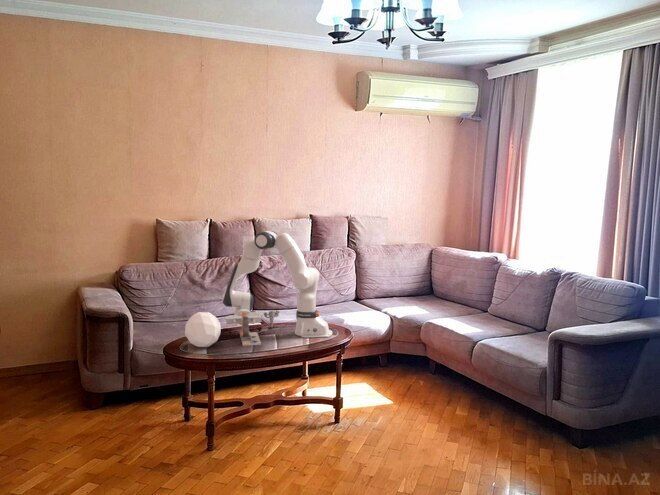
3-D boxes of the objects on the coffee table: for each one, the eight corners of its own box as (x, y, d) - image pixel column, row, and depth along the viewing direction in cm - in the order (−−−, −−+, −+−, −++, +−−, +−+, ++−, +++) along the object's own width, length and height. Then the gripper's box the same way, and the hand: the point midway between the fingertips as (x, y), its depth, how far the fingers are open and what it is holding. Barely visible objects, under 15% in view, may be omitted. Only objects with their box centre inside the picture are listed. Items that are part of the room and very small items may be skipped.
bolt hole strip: (246, 334, 346) (246, 332, 346) (257, 334, 347) (256, 331, 347) (250, 345, 323) (250, 343, 323) (260, 344, 325) (260, 342, 325)
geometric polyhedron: (195, 360, 319) (172, 334, 312) (207, 338, 336) (185, 313, 330) (222, 346, 312) (198, 319, 305) (232, 325, 329) (210, 299, 323)
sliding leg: (239, 333, 337) (239, 311, 336) (248, 333, 338) (248, 311, 337) (240, 335, 332) (240, 313, 331) (249, 335, 333) (248, 313, 332)
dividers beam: (239, 335, 345) (238, 309, 343) (247, 334, 346) (247, 308, 344) (241, 345, 322) (241, 318, 321) (251, 345, 324) (250, 317, 322)
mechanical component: (263, 327, 362) (263, 312, 361) (277, 325, 368) (277, 309, 367) (265, 328, 359) (265, 312, 358) (279, 326, 365) (279, 310, 364)
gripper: (224, 312, 344) (225, 318, 331) (259, 311, 349) (262, 316, 335) (225, 323, 345) (226, 329, 332) (259, 321, 350) (262, 327, 336)
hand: (244, 322), depth 334 cm, fingers open, 8 cm apart
